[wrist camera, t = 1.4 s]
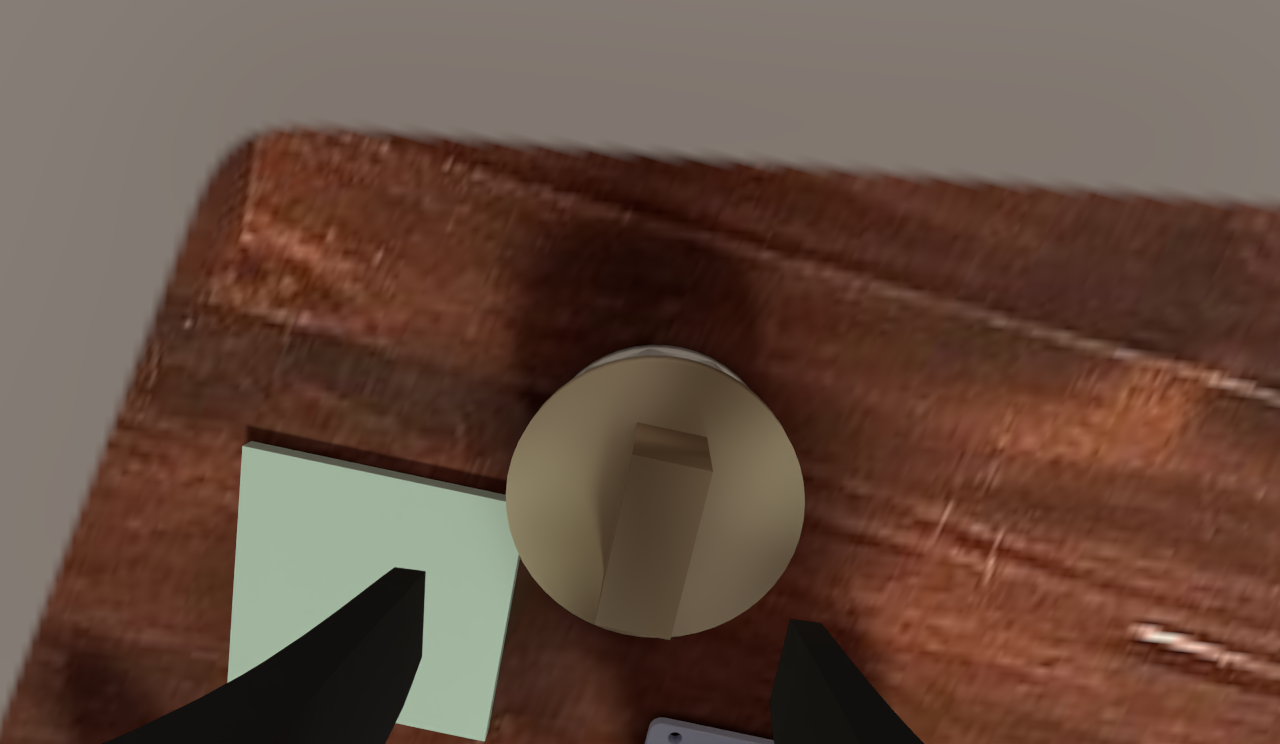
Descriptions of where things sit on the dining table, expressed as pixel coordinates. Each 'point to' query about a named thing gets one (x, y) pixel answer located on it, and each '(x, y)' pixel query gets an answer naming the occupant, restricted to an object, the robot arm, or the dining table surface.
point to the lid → (655, 497)
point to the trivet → (375, 570)
